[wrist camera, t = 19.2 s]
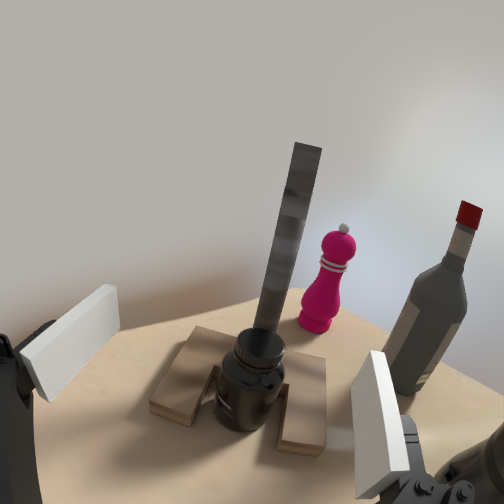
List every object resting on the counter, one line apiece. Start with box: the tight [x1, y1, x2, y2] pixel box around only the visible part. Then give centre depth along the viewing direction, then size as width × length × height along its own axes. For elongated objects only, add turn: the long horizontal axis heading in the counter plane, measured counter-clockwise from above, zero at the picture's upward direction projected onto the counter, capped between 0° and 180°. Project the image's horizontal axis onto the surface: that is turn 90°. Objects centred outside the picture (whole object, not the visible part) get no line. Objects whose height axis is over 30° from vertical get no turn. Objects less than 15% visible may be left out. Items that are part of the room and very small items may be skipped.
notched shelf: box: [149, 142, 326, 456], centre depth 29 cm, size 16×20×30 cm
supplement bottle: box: [213, 328, 285, 432], centre depth 29 cm, size 7×7×12 cm
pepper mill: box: [298, 223, 356, 333], centre depth 49 cm, size 7×7×20 cm
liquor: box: [382, 200, 483, 395], centre depth 35 cm, size 9×9×30 cm
